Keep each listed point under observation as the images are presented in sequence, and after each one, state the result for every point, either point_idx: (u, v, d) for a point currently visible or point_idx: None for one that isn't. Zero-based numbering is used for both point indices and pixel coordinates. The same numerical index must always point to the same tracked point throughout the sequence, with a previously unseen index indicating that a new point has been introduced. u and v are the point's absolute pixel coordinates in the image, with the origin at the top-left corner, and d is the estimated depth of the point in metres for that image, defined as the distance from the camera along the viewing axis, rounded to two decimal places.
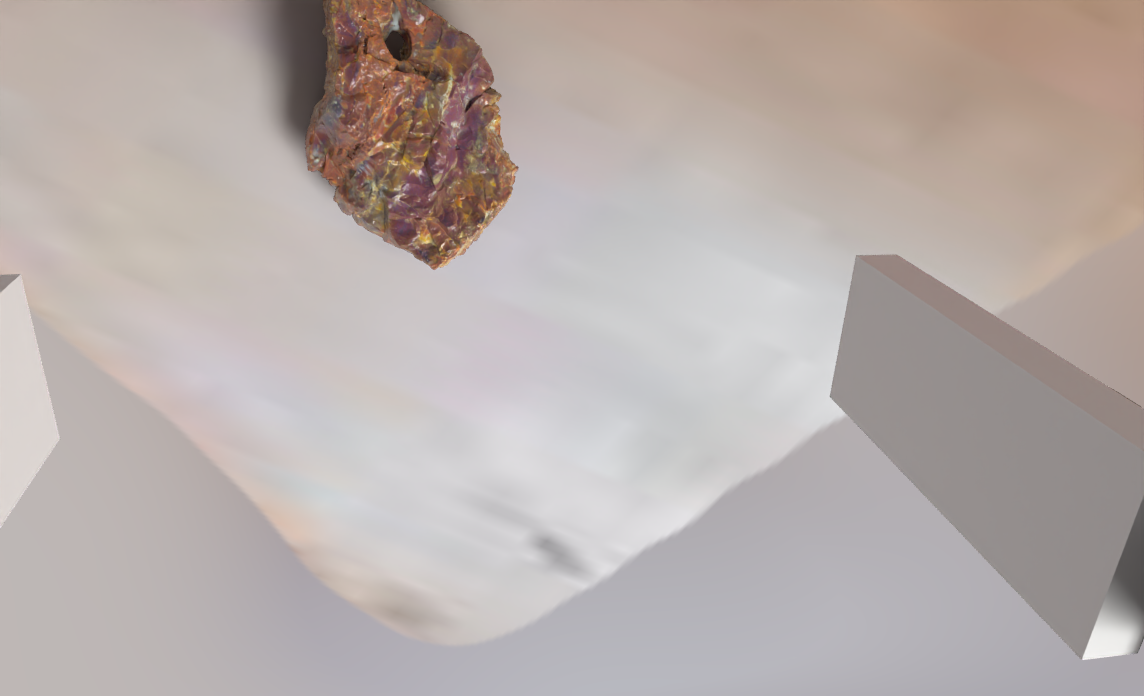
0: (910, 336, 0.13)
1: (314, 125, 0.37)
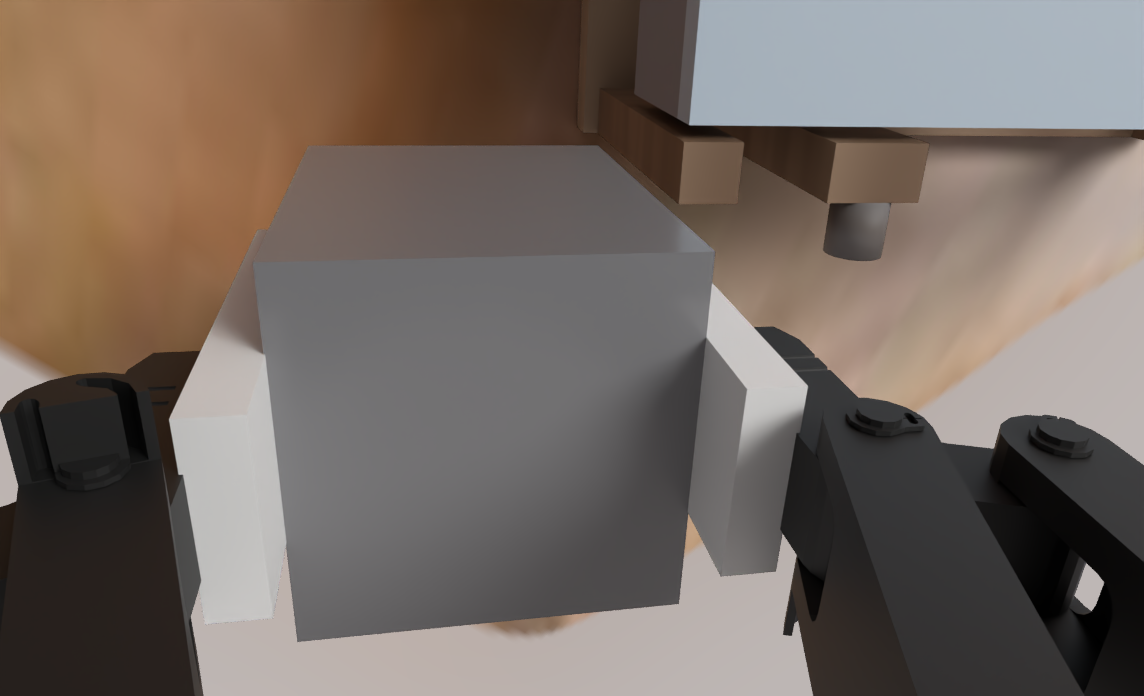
0: None
1: None
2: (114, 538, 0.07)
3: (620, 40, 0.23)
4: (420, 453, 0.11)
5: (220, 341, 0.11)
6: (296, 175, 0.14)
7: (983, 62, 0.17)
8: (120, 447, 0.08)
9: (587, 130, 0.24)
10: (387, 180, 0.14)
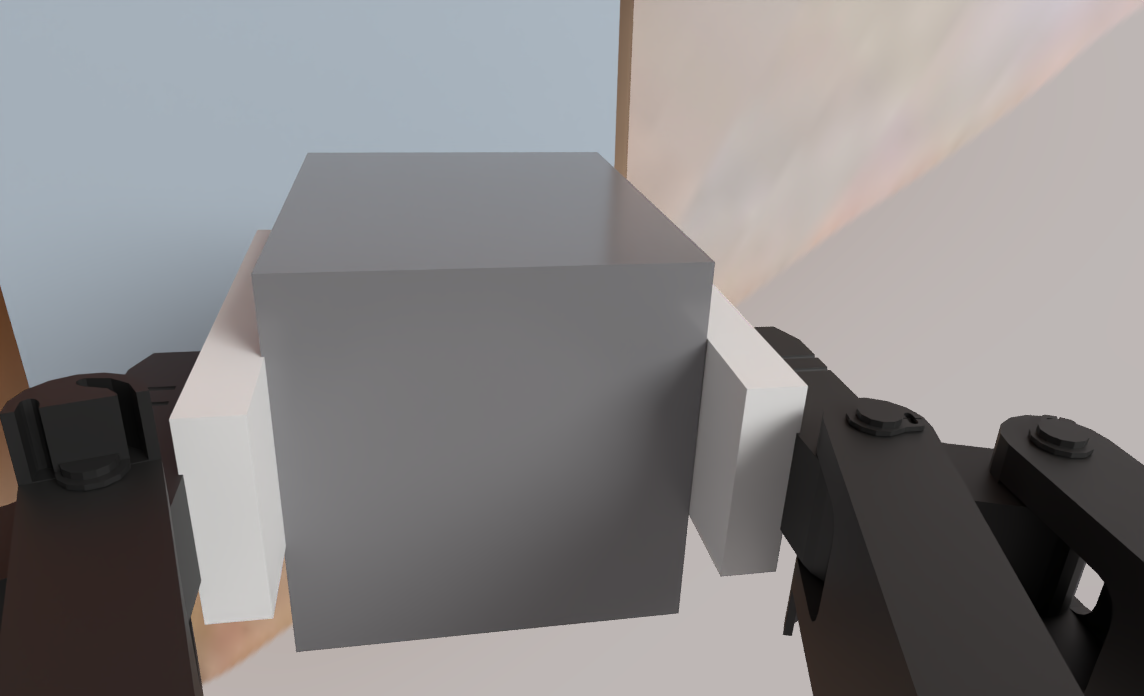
0: None
1: None
2: (114, 538, 0.07)
3: None
4: (419, 463, 0.11)
5: (220, 341, 0.11)
6: (295, 183, 0.14)
7: None
8: (120, 447, 0.08)
9: None
10: (386, 188, 0.14)
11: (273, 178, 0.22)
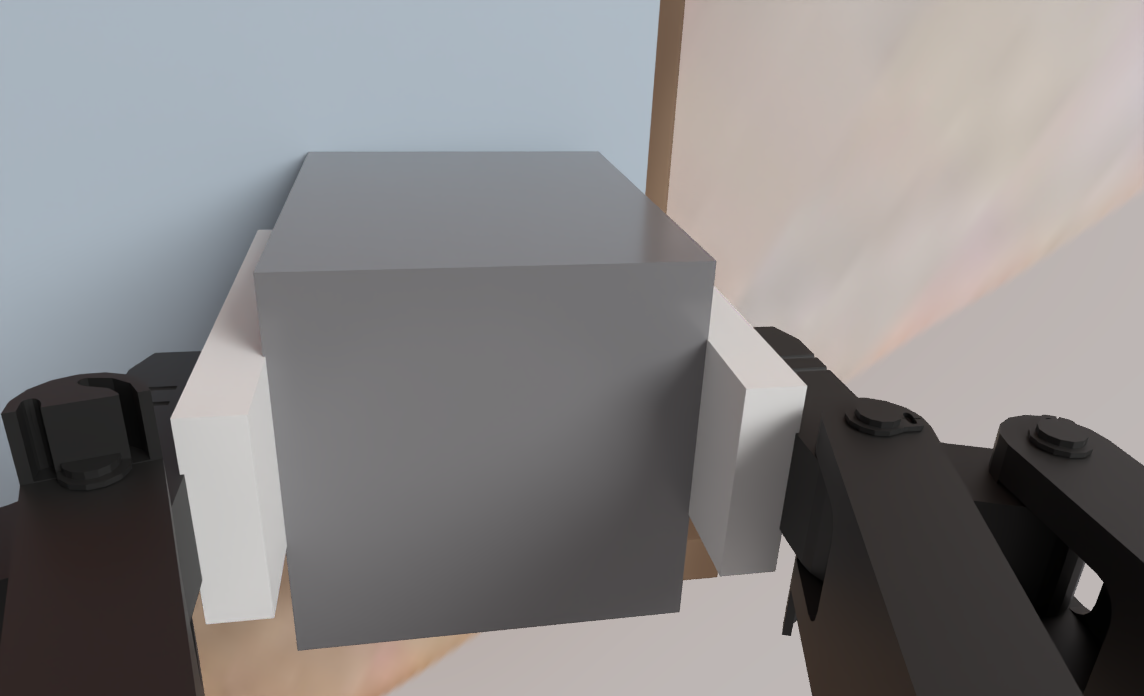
0: None
1: None
2: (115, 538, 0.07)
3: None
4: (421, 462, 0.11)
5: (221, 341, 0.11)
6: (296, 182, 0.14)
7: None
8: (121, 447, 0.08)
9: None
10: (387, 187, 0.14)
11: (203, 319, 0.17)
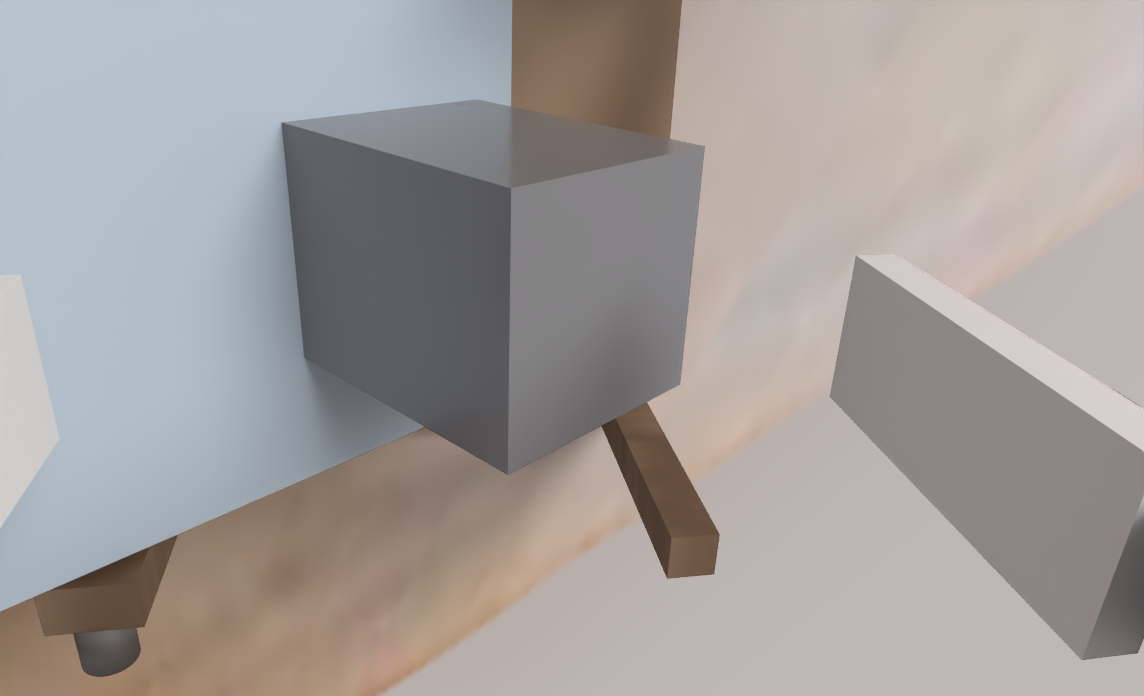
0: (910, 336, 0.13)
1: None
2: None
3: None
4: (577, 310, 0.16)
5: None
6: (353, 141, 0.17)
7: (174, 484, 0.19)
8: None
9: None
10: (424, 136, 0.18)
11: (195, 289, 0.18)
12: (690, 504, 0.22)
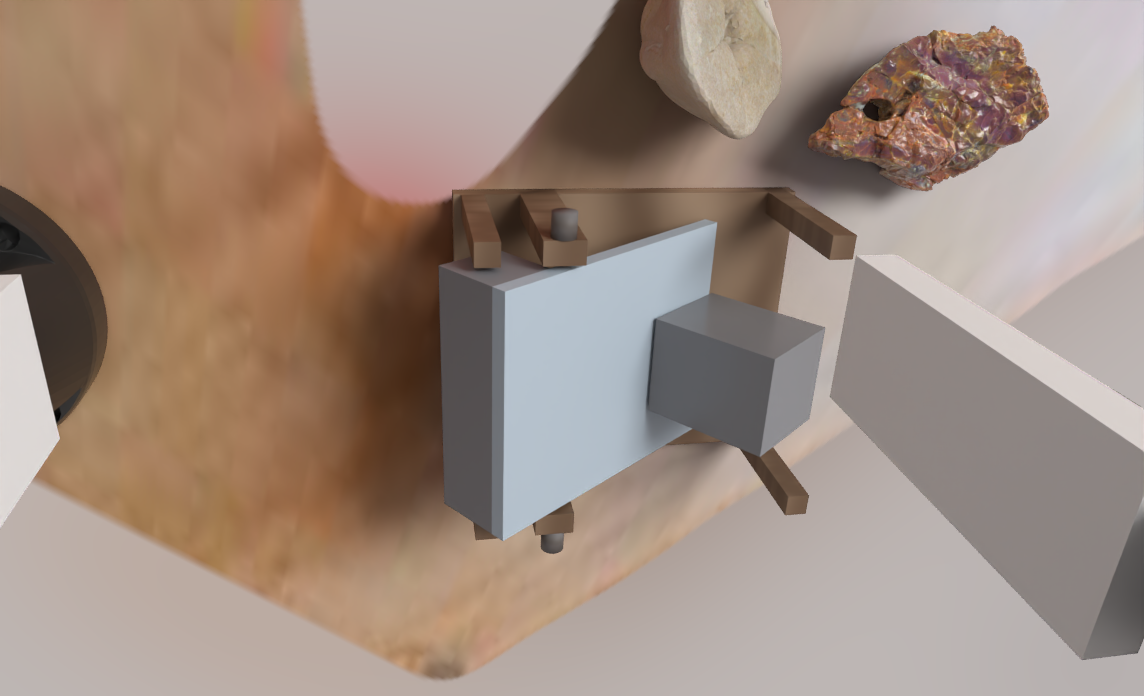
0: (910, 336, 0.13)
1: (903, 180, 0.48)
2: None
3: None
4: (784, 395, 0.44)
5: None
6: (697, 332, 0.44)
7: (584, 473, 0.46)
8: None
9: None
10: (718, 326, 0.45)
11: (602, 394, 0.45)
12: (794, 482, 0.49)
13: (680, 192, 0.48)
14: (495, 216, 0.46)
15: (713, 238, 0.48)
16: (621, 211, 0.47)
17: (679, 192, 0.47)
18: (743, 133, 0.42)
